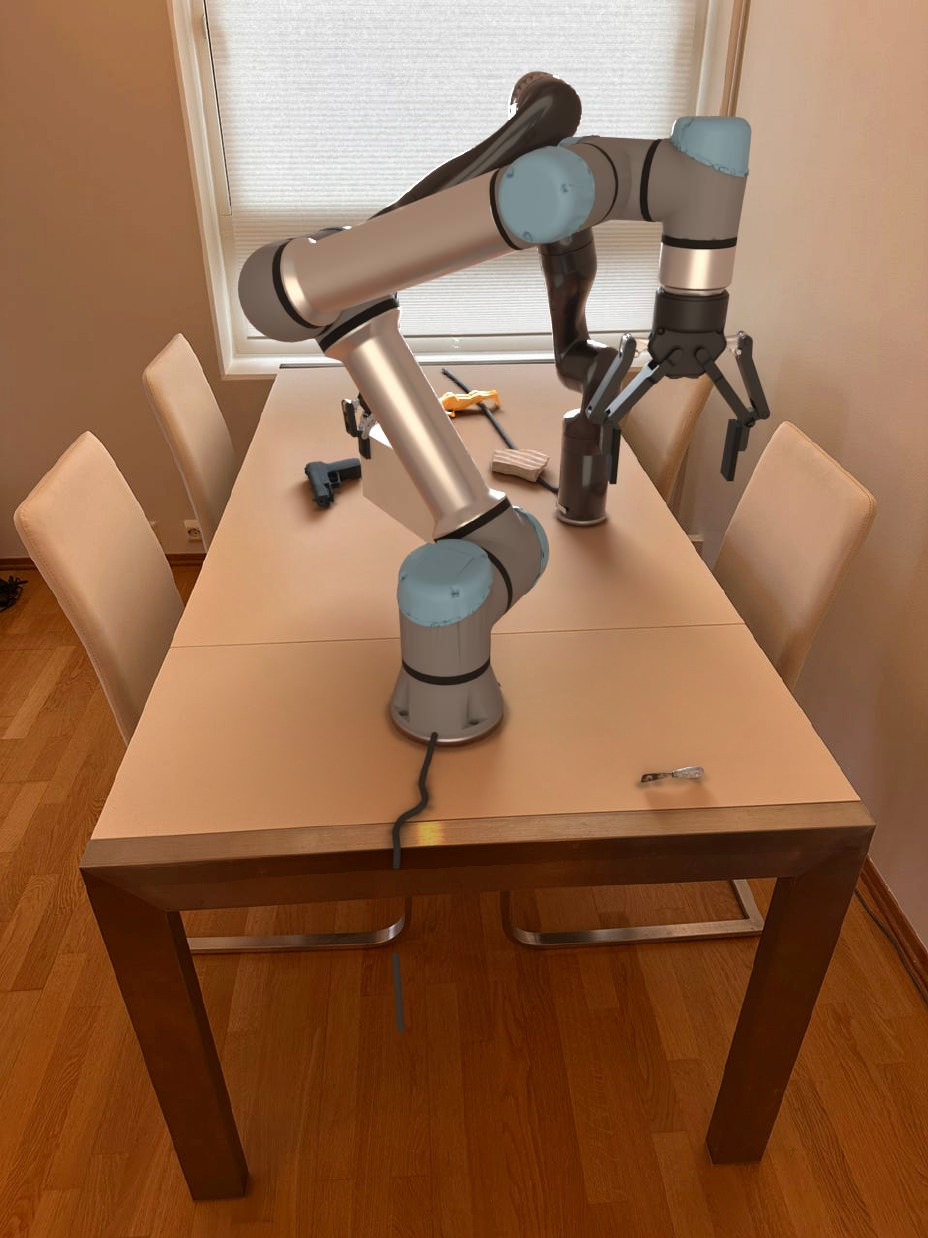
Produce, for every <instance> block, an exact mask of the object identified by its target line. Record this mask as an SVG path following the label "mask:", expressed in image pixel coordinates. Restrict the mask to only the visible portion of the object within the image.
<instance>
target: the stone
mask: <svg viewBox="0 0 928 1238" xmlns="http://www.w3.org/2000/svg"><path fill="white" fill-rule="evenodd" d="M549 461H550V456H549V455H547V454H545V453H543V451H542V450H540V451H537V450H533V449H525V448H524V449H523V448H521V449H517V450H512V449H511V448H502V449H494V450H493V452H492V459H491V465H490V469H489V470H490V471H492V472H497V473H501V474H504V475H513V476H517V477H520V478H522V479H524V480H527V481H529V482H533V483H534V482H537V481H538V479H537V478H538V476H539V475H540V476H541V472H542V471H544V469H545V468H547V466H548V463H549Z"/></svg>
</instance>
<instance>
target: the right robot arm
mask: <svg viewBox="0 0 928 1238" xmlns="http://www.w3.org/2000/svg"><path fill="white" fill-rule="evenodd" d="M507 107H508V110H507V111H508V120H507V121H506V122H505V123H504V124H503V125H502V126H501V127H499V129H497V130H496V131H495V132H494V133H492V134H491V135H489V137H487V138H486V139H484V140H482V141H481V142H480V143H478V144H476V145H475V146H473V147H471V148H470V149H468V150H465V151H464V152H461V153H460V154H458V155H455V156H454V157H452V158H450V159H448V160H446V161H445V162H442V164H440V165H438V166H436V168H434V169H433V170H431V171H430V172H429V173H427V174H426V175H424V176H423V177H422V178H421V179H420V180H418V181H416V183H415V184H413V185H412V186H411V187H409V189H407V190H406V191H405V192H404V193H403V194H402V195H401V196H399V198H398V199H396V200H395V201H393V202H392V203H390V204H389V205H387V206H385V207H384V208H382V209H380V210H379V211H378V212H376V213H375V214H373V215H372V216H370V217H369V218H368V219H366V220H365V221H368V220H370V219H373V218H375V217H378V216H380V215H383V214H386V213H388V212H391V211H393V210H396V209H398V208H401V207H403V206H406V205H408V204H411V203H413V202H416V201H418V200H421V199H423V198H426V197H428V196H431V195H433V194H436V193H438V192H441V191H443V190H446V189H448V188H451V187H453V186H456V185H458V184H461V183H463V182H466V181H468V180H471V179H473V178H476V177H478V176H481V175H483V174H486V173H488V172H491V171H493V170H496V169H501V168H503V167H505V166H507V165H509V164H511V163H513V162H514V161H515V160H516V159H518V158H519V157H521V156H523V155H525V154H526V153H529V152H531V151H534V150H536V149H540V148H543V147H547V146H553V147H558V145H559V143H560V142H561V141H562V140H563V139H565V138H568V137H575V134H576V133H577V131H578V130H579V127H580V125H581V122H582V117H583V106H582V100H581V98H580V95H579V93H578V92H577V90H576V89H575V88H574V87H573V86H572V85H571V84H569V83H568V82H567V81H565V80H563V79H562V78H559V76H556V75H554V74H552V73H549V72H547V71H541V70H538V71H537V70H535V71H530V72H528V73H527V72H526V74H524V75H522V76H521V77H520V78H519V79H518V80H517V81H516V83H515V84H514V86H513V88H512V90H511V93H510V96H509V100H508V106H507ZM536 251H537V255H538V261H539V267H540V271H541V275H542V279H543V284H544V289H545V295H546V301H547V306H548V313H549V318H550V325H551V336H552V348H553V349H552V350H553V359H554V367H555V372H556V376H557V380H558V381H559V383H560V384H561V385H562V387H564V389H565V388H566V389H567V390H569V391H571V392H574V393H577V394H580V395H581V402H580V408H576V409H573V410H570V411H568V412H566V413H565V414H564V415H563V417H562V421H561V439H560V440H561V441H560V461H559V478H558V487H557V486H554V485H553V484H550V482H548V481H547V480H546V479H545V478H543V477H542V476H541V474H540V475H539V476H538V478H537V481H539V482H540V483H541V484H542V485H543V486H544V487H545V488H547V489H548V490H550V491H552V492H555V493H558V494H557V501H555V507H556V517H557V519H558V520H559V521H561V522H563V523H565V524H566V525H570V526H576V527H590V526H596V525H599V524H601V523H603V522H604V521H605V520H606V516H607V510H606V509H607V498H608V487H609V481H608V479H607V477H606V465H607V455H603V454H602V452H601V449H600V446H599V444H600V432H601V425H599V424H596V423H595V424H593V423H591V422H590V421H589V419H588V417H587V415H586V412H585V411H586V408H587V407H588V405H589V403H590V401H591V400H592V398H593V396H594V394H595V393H596V391H597V389H598V387H599V386H600V384H601V382H602V380H603V379H604V377H605V375H606V373H607V372H608V370H609V368H610V366H611V365H612V363H613V361H614V359H615V358H616V356H617V354H618V351H619V349H617V348H615V346H614V347H613V346H611V345H608V344H605V343H601V342H597V341H594V340H592V339H591V337H590V333H589V329H588V323H587V318H586V306H587V302H588V299H589V295H590V293H591V291H592V288H593V285H594V283H595V279H596V277H597V272H598V271H597V270H598V256H597V248H596V242H595V235H594V230H593V227H590V228H586V229H583V230H581V231H578V232H576V233H573V234H572V235H570V236H568V237H566V238H563V239H560V240H558V241H555V242H552V243H544V244H541V245H538V246H536ZM395 299H396V301H397V303H398V304H399V305H400V300H399V291H398V292H396V294H395ZM399 330H400V331H401V332H402V329H401V320H400V321H399ZM441 370H442V372H444V373H445V374H446V375H448V376H449V378H451V379H453V381H455V382H456V383H458V385H460V386H461V387H462V388H463V389H464V390H465V391H466V392H467V393H468V394H469V393H471V392H473V391H474V390H472V389H471V388H470V387H469V386H468V385H467V384H465V382H463V381H462V380H461V379H460V378H458V377H457V376H456V375H455V374H453V373H452V372H451V371H450V370H448V369H447V368H446V367H442V368H441ZM623 382H624V380H623V381H622V382H621V384H620V386H619V387H618V389H617V391H616V393H615V394H614V396H613V398H612V399H611V401H610V403H609V405H610V404H611V403H612V402H613V401H614V400H615V399H616V398H617V397H618V396H619V395H620V394H621V392H622V389H623ZM477 404H478V405H480V407H481V409H483V411H484V412H485V413H486V414H487V416H488V417H489V419H490V420H491V422H492V423H493V424H494V426H495V427H496V429H497V430H498V432H499V433H500V434H501V436H502V437H503V439H504V440H505V442H506V443H507V444H508V446H509V448H510V449H511V450H518V448H517V447H516V446H515V444H514V443H513V442H512V440H511V438H510V437H509V435H507V433H506V432H505V430H504V429H503V427H502V425H500V423H499V421H498V420H497V419H496V417H495V416H494V415H493V413H492V412H491V411H490V409H489V408H488V407H487V406H486V404H485V403H484V401H482V402H478V403H477ZM340 405H341V409H342V410H341V411H342V415H343V422H344V426H345V432H346V433H347V434H348V435H350V437H352V438H354V439H355V438H357V445H358V453H359V456H360V455H362V456H363V457H364V458H365V459H366V460H367V459H371V455H370V439H369V438H368V436H369V433H370V431H371V429H372V427H374V425H376V423H377V421H376V419H375V417H374V415H373V414H372V412H371V410H370V409H369V407H368V405H367V404H366V402H365V400H364V398H363V397H362V395H361V393H360V392H359V391H358V395H357V397H356V398H351V399H347V398H343V399H342V400H341V403H340ZM609 405H608V406H609ZM359 406H360V407H361V409H362V412H361V414H360V417H359V423H358V425H357V418H356V413H357V412H358V407H359ZM608 406H607V408H608ZM607 408H606V409H607Z"/></svg>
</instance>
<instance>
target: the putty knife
mask: <svg viewBox="0 0 928 1238" xmlns="http://www.w3.org/2000/svg"><path fill="white" fill-rule="evenodd" d="M704 772H705V771H704V768H702V767H701V766H697V765H695V766H688V767H683V768H679V769H675V770H673V771H671V772H653V773H652V772H651V773H650V772H649V773H644V774H642V776H641V779H640V783H642V784H645V783H648V782H653V781H659V780H665V779H668V778H673V779H674V778H675V779H693V778H694V779H695V778H700V777H702V776H703V775H704Z"/></svg>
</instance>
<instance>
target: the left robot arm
mask: <svg viewBox="0 0 928 1238" xmlns="http://www.w3.org/2000/svg"><path fill="white" fill-rule="evenodd" d="M751 141H752V127H751V124H750V123H749V121H748V120H747V119H746V118H744V117H739V116H730V115H729V116H728V115H709V116H708V115H706V116H705V115H687V116H681V117H678V118H677V119H676V120H675V121H674V122H673V125H672V131H671V133H670V134H669V137H666V138H656V139H651V138H634V137H619V136H618V137H617V136H616V137H614V136H601V135H597V134H596V135H595V134H590V135H582V136H573V137H568V138H565V139H563V140H562V141H561V142H560V143H559V145H558V147H553V146H547V147H543V148H540V149H536V150H534V151H531V152H529V153H526V154H525V155H523V156H521V157H519V158H518V159H516V160H515V161H514V162H513V163H511V164H509V165H507V166H505V167H503V168H501V169H496V170H493V171H491V172H488V173H486V174H483V175H481V176H478V177H476V178H473V179H471V180H468V181H466V182H463V183H461V184H458V185H456V186H453V187H451V188H448V189H446V190H443V191H441V192H438V193H436V194H433V195H431V196H428V197H426V198H423V199H421V200H418V201H416V202H413V203H411V204H408V205H406V206H403V207H401V208H398V209H396V210H393V211H391V212H388V213H386V214H383V215H380V216H378V217H375V218H373V219H370V220H368V219H367V220H368V221H366V220H365V221H363V222H360V223H358V224H355V225H353V226H331V227H324V228H320V229H319V230H318V231H314V232H311V233H307V234H302V235H297V236H293V237H290V238H286V239H280V240H275V241H272V242H269V243H268V242H267V243H266V244H265V245H262V246H260V247H259V248H257V249H256V250H255V251H254V252H252V253H251V254H250V255H249V256H248V258H247V259H246V260H245V262H244V263H243V265H242V268H241V270H240V272H239V276H238V281H237V296H238V300H239V303H240V304H239V305H240V308H241V310H242V313H243V314H244V316H245V318H246V319H247V321H248V322H249V323H250V325H252V327H253V328H254V329H255V330H256V331H258V332H259V333H260V334H262V335H263V336H265V337H266V338H269V339H271V340H273V341H276V342H281V343H293V344H294V343H298V342H299V343H300V342H304V341H308V340H311V339H314V340H315V342H316V343H317V345H318V346H319V348H320V350H321V351H322V354H323V355H324V356H325V358H329V359H333V360H335V361H339V362H340V363H342V364H343V366H344V368H345V370H346V371H347V373H348V375H349V376H350V378H351V379H352V381H353V384H354V385H355V386H356V388H357V390H358V393H359V392H360V393H361V395H362V397H363V398H364V400H365V402H366V404H367V405H368V407H369V409H370V410H371V412H372V414H373V415H374V417H375V419H376V423H377V424H379V426H380V427H381V429H382V431H383V433H384V434H385V436H386V438H387V439H388V441H389V443H390V444H391V446H392V448H393V450H394V451H395V453H396V455H397V456H398V458H399V460H400V462H401V463H402V465H403V467H404V468H405V470H406V472H407V473H408V475H409V477H410V479H411V480H412V482H413V484H414V485H415V487H416V489H417V491H418V492H419V494H420V496H421V497H422V499H423V501H424V503H425V504H426V506H427V508H428V509H429V511H430V513H431V514H432V516H433V518H434V520H435V524H434V529H433V533H432V538H433V540H434V542H435V543H436V544H431V543H427V542H426V543H425V544H423V545H421V546H418V547H416V548H415V549H413V551H411V552H410V553H408V555H407V556H406V557H405V558H404V559H403V561H402V563H401V564H400V567H399V570H398V577H397V587H396V601H397V606H398V616H399V617H398V618H399V633H400V634H399V637H400V639H399V640H400V655H401V667H400V669H399V672H398V675H397V678H396V681H395V684H394V687H393V690H392V693H391V696H390V704H389V705H390V718H391V721H392V724H393V725H394V727H395V728H396V729H397V731H398V732H399V733H400V734H402V735H403V736H404V737H406V738H407V739H409V740H411V741H413V742H415V743H417V744H420V745H421V744H422V745H425V746H427V750H426V753H425V756H424V760H423V762H422V766H421V769H420V773H419V778H418V790H419V793H420V797H421V800H420V802H419V804H417V805H416V806H415V807H413V808H411V809H409V810H407V811H405V812H404V813H402V814H401V815H399V816H398V818H397V819H396V820H395V822H394V823H393V826H392V829H391V830H392V831H391V837H392V846H393V847H392V848H393V851H392V853H393V855H392V868H393V869H394V870H398V869H399V868H401V857H402V855H401V854H402V847H401V839H400V831H401V828H402V826H403V824H404V823H405V822H406V821H408V820H409V819H411V818H412V817H415V816H417V815H418V814H420V813H421V812H422V811H424V810H425V808H426V807H427V805H428V804H429V794H428V790H427V787H426V781H427V776H428V772H429V768H430V766H431V762H432V760H433V755H434V752H435V748H436V747H437V748H454V747H455V748H457V747H463V746H467V745H471V744H473V743H476V742H480V741H481V740H483V739H485V738H486V737H488V736H489V735H491V734H492V733H493V732H494V731H495V730H496V729H498V727H499V726H500V724H501V722H502V720H503V717H504V697H503V693H502V690H501V688H502V685H501V683H500V682H499V681H498V679H497V677H496V674H495V672H494V668H493V666H492V664H491V654H492V653H491V651H492V649H491V648H492V647H491V645H492V630H493V627H494V626H495V624H497V623H498V622H499V621H500V620H501V619H502V618H503V617H504V616H505V615H506V614H507V613H508V612H509V611H510V610H511V609H512V608H513V607H514V606H515V605H516V604H517V602H519V601H520V600H521V599H522V598H523V597H524V596H526V595H527V594H529V593H530V592H531V590H533V589H534V588H535V586H536V585H537V583H538V582H539V579H540V578H541V577H542V576H543V574H544V572H545V570H546V568H547V567H548V562H549V559H550V544H549V540H548V536H547V534H546V531H545V528H543V527H544V526H542V524H541V523H540V521H539V520H538V519H537V518H536V516H534V514H532V513H531V512H529V511H524V510H523V507H520V506H515V505H513V504H512V503H511V501H510V499H509V498H508V495H507V494H506V493H505V492H502V491H498V490H494V489H492V488H491V487H490V486H489V485H488V483H487V481H486V480H485V478H484V476H483V475H482V473H481V471H480V469H479V468H478V466H477V464H476V462H475V460H474V458H473V457H472V456H471V453H470V452H469V450H468V448H467V446H466V445H465V443H464V441H463V439H462V437H461V436H460V434H459V432H458V430H457V428H456V427H455V425H454V423H453V422H452V420H451V418H450V417H449V416H450V415H449V416H448V414H447V413H446V412H447V411H445V409H444V407H443V406H442V404H441V402H440V400H439V399H440V398H439V397H438V395H437V393H436V391H435V389H434V388H433V387H432V384H431V382H430V381H429V379H428V378H427V376H426V374H425V372H424V370H423V368H422V367H421V365H420V363H419V362H418V360H417V358H416V356H415V354H414V353H413V351H412V349H411V347H410V346H409V344H408V342H407V340H406V338H405V337H404V335H403V333H402V330H401V331H400V330H399V321H400V322H401V316H402V312H403V310H402V308H401V306H400V303H399V304H398V303H397V301H396V299H395V294H396V292H398V293H399V292H401V291H404V290H407V289H410V288H412V287H416V286H420V285H422V284H426V283H428V282H431V281H435V280H437V279H440V278H443V277H446V276H449V275H452V274H455V273H459V272H461V271H464V270H467V269H470V268H473V267H475V266H479V265H482V264H484V263H488V262H490V261H494V260H497V259H500V258H503V257H505V256H509V255H512V254H514V253H517V252H518V253H519V252H521V251H524V250H528V249H531V248H535V247H537V246H538V245H541V244H544V243H552V242H555V241H558V240H560V239H563V238H566V237H568V236H570V235H572V234H573V233H576V232H578V231H581V230H583V229H586V228H590V227H592V228H593V227H595V226H598V225H601V224H604V223H606V222H610V221H632V222H633V221H636V222H647V223H661V224H662V225H661V228H662V232H661V235H660V236H661V237H660V242H661V243H660V252H659V260H658V269H657V277H656V281H657V283H658V284H659V285H661V286H659V287H658V288H657V289H656V290H655V293H654V304H653V314H652V322H651V331H650V333H649V335H648V336H647V337H642V336H635V335H634V336H633V335H632V333H629V332H625V333H623V334H622V335H621V337H620V340H619V346H618V354H617V356H616V358H615V359H614V361H613V363H612V365H611V366H610V368H609V370H608V372H607V373H606V375H605V377H604V379H603V380H602V382H601V384H600V386H599V387H598V389H597V391H596V393H595V394H594V396H593V398H592V400H591V401H590V403H589V405H588V407H587V408H586V411H585V412H586V415H587V417H588V419H589V421H590V422H591V423H593V424H595V423H596V424H599V425H601V432H600V444H599V446H600V449H601V452H602V454H603V455H607V465H606V477H607V479H608V484H609V485H617V484H618V473H619V463H620V462H619V461H620V453H621V439H622V427H621V426H620V425H619V422H621V420H622V419H623V418H624V417H625V416H626V415H627V414H628V413H629V412H630V411H631V409H632V408H634V406H635V405H636V404H637V403H638V402H639V401H640V400H641V399H642V398H643V397H644V396H646V394H647V393H648V392H649V390H651V389H652V388H653V386H654V385H657V384H658V383H660V382H661V380H662V379H663V378H665V377H666V378H668V379H669V380H678V379H679V380H680V379H683V378H685V379H686V378H687V379H690V380H697V379H699V377H700V378H701V377H702V376H703V375H706V377H707V378H708V379H709V380H710V381H711V383H712V384H713V385H714V387H715V388H716V390H717V391H718V392H719V394H720V396H721V397H722V399H723V400H724V401H725V403H726V404H727V405H728V407H729V408H730V410H731V412H732V413H733V414H734V415H735V417H736V418H728V420H727V427H726V434H725V438H724V439H725V440H724V446H723V451H722V459H721V465H720V471H719V473H720V474H721V476H722V477H723V478H724V480H725V481H726V482H734V481H735V475H736V469H737V462H738V457H739V452H746V450H747V448H748V444H749V438H750V433H751V432H750V431H751V429H752V428H754V427H755V425H756V423H757V421H759V420H760V421H761V420H763V421H764V420H768V419H769V418H770V417H771V410H770V407H769V404H768V401H767V398H766V395H765V392H764V389H763V386H762V383H761V380H760V377H759V374H758V370H757V367H756V365H755V361H754V358H753V346H754V339H753V337H752V336H751V335H749V334H748V333H746V332H745V331H744V330H738V331H737V332H736V333H735V334H731V335H725V328H726V322H727V315H728V308H729V302H730V293H729V291H728V290H727V288H729V286H731V285H732V283H733V275H734V269H735V268H734V267H735V259H736V254H737V253H736V252H737V244H738V238H739V237H738V236H739V235H738V234H739V229H740V224H741V217H742V211H743V204H744V198H745V193H746V188H747V182H748V176H749V175H750V168H749V163H750V153H751ZM726 349H728V352H729V353H730V354H731V355H732V356H734V359H735V361H736V365H737V367H738V371H739V373H740V377H741V379H742V381H743V382H742V383H743V385H744V388H745V391H746V394H747V397H748V400H749V403H750V406H749V407H746V406H745V404H744V402H743V401H742V399H741V398H740V396H739V395H738V394H737V393H736V391H735V390H734V389H733V387H732V386H731V384H730V383H729V381H728V380H727V378H726V376H724V373H723V372H722V371H721V370H720V367H718V365H717V364H716V362H717V360H718V359H719V357H721V355H722V354H723V353H724V352H725V350H726ZM643 351H647V352H648V354H649V355H650V357H651V358H649V360H647V362H646V363H645V364H644V365H643V366H642V368H641V371H639V373H638V374H637V375H636V376H635V377H634V378H633V379H632V380H631V382H630V383H629V384H628V385H627V386H626V387H625V388H624V389H623V390H621V394H620V395H619V396H618V397H617V398H616V399H615V400H614V401H613V402H612V403H611V404H610V405H609V403H610V401H611V399H612V398H613V396H614V394H615V393H616V391H617V389H618V387H619V386H620V384H621V382H622V381H623V382H624V379H625V377H626V375H627V374H628V372H629V370H630V369H631V367H632V366H633V365H632V364H633V362H634V359H637V358H639V357H640V355H641V354H642V352H643ZM623 382H622V383H623ZM608 405H609V406H608ZM607 406H608V408H607ZM606 408H607V409H606ZM391 959H392V975H393V976H392V977H393V986H394V988H393V989H394V1000H395V1001H394V1002H395V1014H396V1027H397V1028H396V1030H397V1033H398V1034H402V1033H404V1032H405V1022H404V1021H405V1020H404V1006H403V1005H404V1004H403V991H402V977H401V964H400V953H397V952H391Z"/></svg>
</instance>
